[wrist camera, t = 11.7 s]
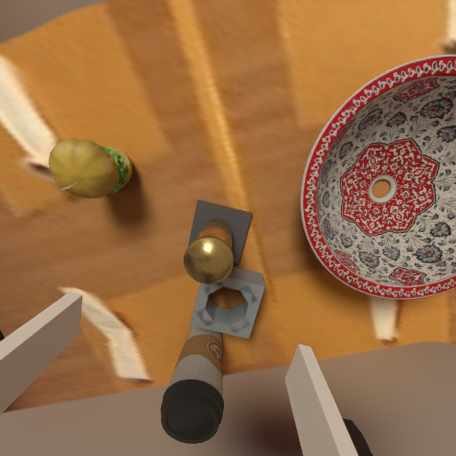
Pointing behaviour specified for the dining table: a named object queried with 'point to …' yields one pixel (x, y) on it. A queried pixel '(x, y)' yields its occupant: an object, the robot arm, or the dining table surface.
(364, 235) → the ceramic bowl
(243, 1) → the dining table surface
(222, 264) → the gold round-topped cylinder
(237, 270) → the housing
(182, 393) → the coffee cup
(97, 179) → the hamburger
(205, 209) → the rubber mat
